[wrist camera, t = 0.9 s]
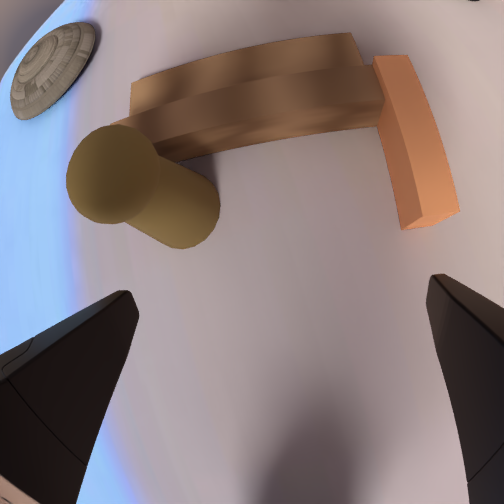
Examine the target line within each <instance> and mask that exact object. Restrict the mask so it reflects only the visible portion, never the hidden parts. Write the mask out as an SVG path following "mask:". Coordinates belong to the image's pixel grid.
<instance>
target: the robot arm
mask: <svg viewBox="0 0 504 504" xmlns="http://www.w3.org/2000/svg"><path fill="white" fill-rule="evenodd" d="M426 307H427V312H428V316H429V320H430V325H431V329H432V334H433V339H434V344H435V348H436V352H437V356H438V359H439V362H440V365H441V369H442V372H443V376H444V379H445V382H446V386H447V390H448V393H449V397H450V401H451V405H452V409H453V413H454V417H455V421H456V426H457V430H458V435H459V439H460V444H461V449H462V455H463V460H464V466H465V472H466V478H467V482H468V483H467V487H468V494H469V503H470V504H504V308H502V307H501V306H499V305H497V304H496V303H494V302H492V301H491V300H489V299H487V298H486V297H484V296H482V295H481V294H479V293H477V292H475V291H474V290H472V289H470V288H469V287H467V286H465V285H463V284H462V283H460V282H458V281H456V280H455V279H453V278H451V277H449V276H447V275H446V274H434V275H432V276H431V277H430V280H429V286H428V292H427V298H426ZM138 320H139V311H138V308H137V306H136V303H135V301H134V298H133V296H132V293H131V292H130V291H128V290H119V291H116V292H114V293H112V294H110V295H109V296H107V297H105V298H103V299H101V300H99V301H97V302H96V303H94V304H92V305H90V306H88V307H86V308H84V309H83V310H81V311H79V312H77V313H75V314H74V315H72V316H70V317H68V318H66V319H64V320H63V321H61V322H59V323H57V324H55V325H54V326H52V327H50V328H48V329H46V330H45V331H43V332H41V333H39V334H38V335H36V336H35V337H32V338H30V339H29V340H27V341H25V342H23V343H21V344H20V345H18V346H16V347H14V348H12V349H10V350H8V351H6V352H5V353H3V354H1V355H0V504H76V502H77V498H78V495H79V492H80V488H81V485H82V482H83V479H84V475H85V472H86V469H87V465H88V462H89V459H90V456H91V453H92V450H93V447H94V444H95V441H96V438H97V436H98V433H99V430H100V427H101V424H102V421H103V419H104V416H105V413H106V410H107V408H108V405H109V402H110V400H111V397H112V394H113V392H114V389H115V387H116V384H117V382H118V379H119V376H120V374H121V371H122V369H123V366H124V364H125V361H126V359H127V356H128V353H129V350H130V346H131V343H132V339H133V336H134V333H135V329H136V326H137V323H138Z"/></svg>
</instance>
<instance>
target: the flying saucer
mask: <svg viewBox="0 0 504 504" xmlns="http://www.w3.org/2000/svg"><path fill="white" fill-rule="evenodd" d="M94 41H95V30H94V28H93V26H92V25H90V24H88V23H84V22H75V23H69V24H65V25H62V26H60V27H58V28H56V29H54V30H52V31H51V32H49V33H47V34H46V35H45V36H43V37H42V38H41V39H40V40H38V41H37V42H36V43H35V44H34V45H33V46H32V48H31V49H30V50H29V51H28V52H27V54H26V55H25V56H24V58H23V59H22V61H21V63H20V64H19V66H18V68H17V71H16V73H15V76H14V79H13V82H12V86H11V93H10V100H11V106H12V110H13V113H14V115H15V116H16V117H17V118H18V119H20V120H28V119H31V118H34V117H36V116H38V115H39V114H41V113H42V112H44V111H45V110H47V109H48V108H49V107H50V106H52V105H53V104H54V103H55V102H56V101H57V100H58V99H59V98H60V97H61V96H62V95H63V94H64V93H65V92H66V90H67V89H68V88H69V87H70V86H71V84H72V83H73V82H74V81H75V79H76V78H77V76H78V75H79V73H80V72H81V70H82V69H83V67H84V65H85V64H86V62H87V60H88V58H89V56H90V54H91V51H92V48H93V45H94Z"/></svg>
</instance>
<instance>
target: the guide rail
mask: <svg viewBox="0 0 504 504" xmlns="http://www.w3.org/2000/svg"><path fill="white" fill-rule="evenodd" d="M116 124H121V125H125V126H129V127H132V128H135V129H137V130H138V131H140V132H141V133H142V134H143V135H144V136H146V137H147V138H148V139H149V140H150V141H151V142H152V144H153V146H154V148H155V150H156V152H157V154H158V155H159V156H161V157H163V158H165V159H168V160H170V161H172V162H174V163H175V162H178V161H182V160H186V159H190V158H194V157H199V156H203V155H207V154H211V153H216V152H220V151H225V150H229V149H234V148H239V147H244V146H249V145H254V144H259V143H264V142H269V141H275V140H281V139H286V138H292V137H298V136H305V135H311V134H318V133H325V132H332V131H340V130H348V129H356V128H365V127H375V126H377V128H378V132H379V135H380V139H381V142H382V146H383V150H384V153H385V157H386V161H387V165H388V169H389V173H390V177H391V182H392V186H393V191H394V195H395V200H396V205H397V210H398V215H399V220H400V225H401V230H405V229H412V228H419V227H426V226H432V225H435V224H436V223H438V222H440V221H442V220H444V219H446V218H448V217H450V216H452V215H454V214H456V213H458V212H460V209H459V204H458V200H457V195H456V191H455V187H454V183H453V179H452V175H451V171H450V168H449V164H448V161H447V157H446V154H445V150H444V147H443V144H442V141H441V138H440V135H439V132H438V129H437V126H436V123H435V120H434V117H433V114H432V112H431V109H430V106H429V104H428V101H427V99H426V96H425V94H424V91H423V89H422V86H421V84H420V82H419V79H418V77H417V75H416V72H415V70H414V68H413V66H412V63H411V61H410V59H409V57H408V55H387V56H374V58H373V64H372V65H364V63H363V60H362V58H361V56H360V53H359V51H358V48H357V46H356V43H355V41H354V39H353V36H352V34H351V33H339V34H329V35H319V36H311V37H304V38H297V39H290V40H284V41H278V42H273V43H267V44H262V45H257V46H252V47H248V48H243V49H239V50H235V51H230V52H226V53H222V54H219V55H215V56H211V57H207V58H204V59H200V60H197V61H194V62H190V63H187V64H184V65H181V66H178V67H174V68H171V69H168V70H166V71H163V72H160V73H157V74H154V75H151V76H149V77H146V78H143V79H141V80H138V81H136V82H133V83H131V97H130V114H129V117H127V118H124V119H122V120H119V121H117V122H114V123H112V124H110V125H116Z"/></svg>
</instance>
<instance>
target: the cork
mask: <svg viewBox="0 0 504 504" xmlns="http://www.w3.org/2000/svg"><path fill="white" fill-rule="evenodd" d="M66 188H67V191H68V195H69V198H70V200H71V202H72V204H73V205H74V207H75V208H76V209H77V211H78V212H79V213H80V214H82V215H83V216H84V217H86V218H88V219H90V220H92V221H94V222H97V223H101V224H118V223H122V222H125V223H127V224H129V225H131V226H133V227H134V228H136V229H138V230H140V231H141V232H143V233H145V234H147V235H148V236H150V237H152V238H154V239H156V240H157V241H159V242H161V243H163V244H165V245H167V246H169V247H171V248H177V249H186V248H190V247H194V246H196V245H197V244H199V243H201V242H202V241H204V240H205V239H206V238H207V237H208V236H209V235H210V233H211V232H212V231H213V230H214V228H215V225H216V223H217V221H218V219H219V212H220V200H219V195H218V192H217V190H216V189H215V187H214V185H213V183H212V182H210V181H209V180H208V179H207V178H206V177H205V176H203V175H201V174H198V173H196V172H194V171H192V170H190V169H188V168H185V167H183V166H181V165H179V164H177V163H174V162H172V161H170V160H168V159H165V158H163V157H161V156H159V155H158V154H157V152H156V150H155V148H154V146H153V144H152V142H151V141H150V140H149V139H148V138H147V137H146V136H144V135H143V134H142V133H141V132H140V131H138V130H137V129H135V128H132V127H129V126H125V125H121V124H116V125H109V126H103V127H100V128H98V129H97V130H95V131H93V132H91V133H90V134H89V135H88V136H86V137H85V138H84V139H83V140H82V141H81V143H80V144H79V145H78V147H77V148H76V149H75V151H74V153H73V155H72V157H71V160H70V162H69V165H68V170H67V174H66Z"/></svg>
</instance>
